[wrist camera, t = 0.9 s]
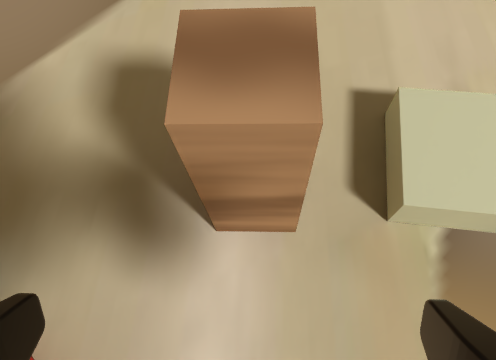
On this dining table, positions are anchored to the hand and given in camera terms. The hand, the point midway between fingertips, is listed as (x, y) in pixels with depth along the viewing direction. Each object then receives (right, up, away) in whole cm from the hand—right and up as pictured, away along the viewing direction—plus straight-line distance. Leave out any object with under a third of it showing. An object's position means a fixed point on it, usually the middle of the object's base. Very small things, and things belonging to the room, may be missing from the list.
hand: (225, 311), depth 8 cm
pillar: (+1, +2, +15) cm, 16 cm away
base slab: (+14, +4, +15) cm, 21 cm away
